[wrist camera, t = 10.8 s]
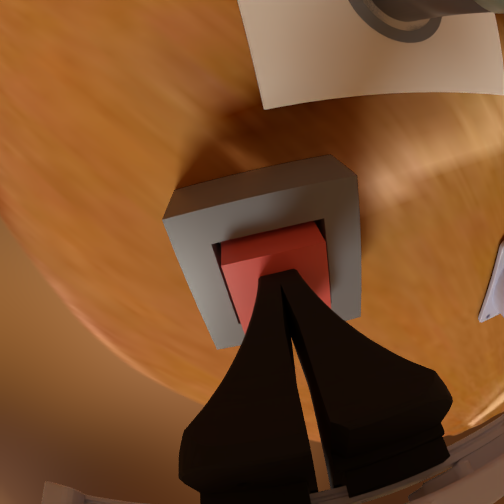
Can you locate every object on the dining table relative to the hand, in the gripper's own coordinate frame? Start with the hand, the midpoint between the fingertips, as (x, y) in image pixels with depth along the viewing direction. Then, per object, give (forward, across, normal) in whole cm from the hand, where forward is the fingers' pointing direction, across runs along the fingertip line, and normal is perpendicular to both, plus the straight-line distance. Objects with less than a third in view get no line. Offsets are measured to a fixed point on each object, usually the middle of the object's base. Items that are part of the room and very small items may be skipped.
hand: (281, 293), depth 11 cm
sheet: (+4, -8, -11) cm, 14 cm away
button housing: (+4, 0, 0) cm, 4 cm away
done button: (+2, 0, 0) cm, 2 cm away
